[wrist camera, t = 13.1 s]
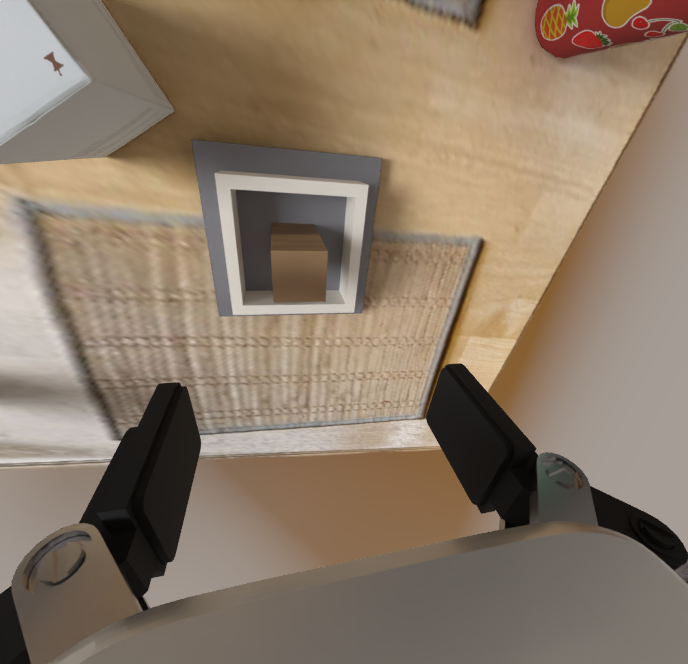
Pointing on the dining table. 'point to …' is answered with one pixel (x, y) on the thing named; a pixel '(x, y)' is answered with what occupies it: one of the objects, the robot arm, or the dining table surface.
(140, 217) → the dining table surface
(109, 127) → the supplement box
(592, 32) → the smoothie
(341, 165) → the collar stand
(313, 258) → the block
